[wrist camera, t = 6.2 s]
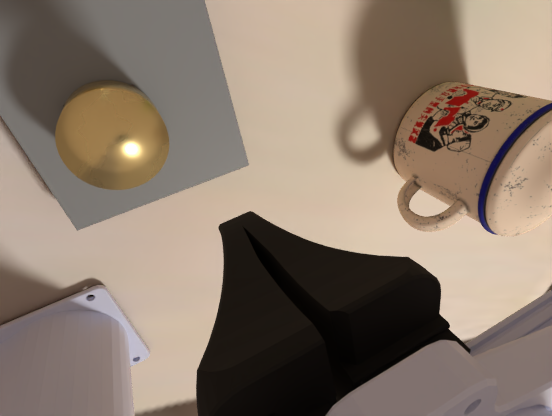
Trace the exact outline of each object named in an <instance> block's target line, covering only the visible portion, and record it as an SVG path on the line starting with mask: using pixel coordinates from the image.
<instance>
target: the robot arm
mask: <svg viewBox="0 0 552 416" xmlns="http://www.w3.org/2000/svg"><path fill="white" fill-rule="evenodd" d="M219 231H220V233H221V236H222V242H223V253H224V271H223V285H222V292H221V299H220V304H219V308H218V313H217V317H216V321H215V324H214V327H213V330H212V334H211V337H210V340H209V343H208V345H207V348H206V350H205V353H204V355H203V358H202V360H201V362H200V365H199V367H198V369H197V384H196V396H197V409H198V416H552V290H550V291H549V292H547V293H545V294H544V295H542V296H541V297H539V298H537V299H536V300H534V301H533V302H531V303H529V304H528V305H526V306H525V307H523V308H521V309H520V310H518V311H517V312H515V313H514V314H512V315H510V316H509V317H507V318H506V319H504V320H502V321H501V322H499V323H498V324H496V325H494V326H493V327H491V328H490V329H488V330H487V331H485V332H483V333H482V334H480V335H479V336H477V337H475V338H474V339H472V340H471V341H469V342H468V343H466V344H464V343H463V342H462V341H461V340H460V339H459V338H458V337H457V336H455V335H454V334H453V333H452V332H451V331H450V330H449V329H448V328H449V327H450V325H449V323H448V322H447V321H446V320H445V319H444V318H443V317H442V316H441V315H440V314H439V310H440V299H441V287H440V283H439V281H438V279H437V278H436V277H435V276H433V275H432V274H431V273H430V272H428V271H427V270H426V269H425V268H423V267H422V266H421V265H419V264H418V263H416V262H415V261H413V260H412V259H410V258H409V257H395V256H377V255H369V254H361V253H355V252H349V251H344V250H340V249H335V248H331V247H327V246H324V245H321V244H317V243H314V242H311V241H309V240H306V239H303V238H301V237H299V236H296V235H294V234H292V233H290V232H288V231H286V230H284V229H282V228H280V227H278V226H276V225H274V224H272V223H270V222H268V221H267V220H265V219H263V218H262V217H260V216H258V215H257V214H255V213H254V212H251V211H249V212H247V213H245V214H242V215H240V216H238V217H236V218H233V219H231V220H229V221H227V222H224V223H222V224H220V226H219ZM88 295H94V296H93V297H88ZM149 356H150V351H149V349H148V347H147V346H146V344H145V343H144V341H143V340H142V339H141V337H140V336H139V334H138V333H137V331H136V330H135V328H134V327H133V326H132V324H131V323H130V321H129V320H128V318H127V317H126V315H125V314H124V313H123V311H122V310H121V308H120V307H119V305H118V304H117V302H116V301H115V299H114V298H113V297H112V295H111V294H110V292H109V291H108V289H107V288H106V287H105V286H103V285H96V286H93V287H91V288H88V289H86V290H84V291H81V292H79V293H76V294H74V295H72V296H69V297H67V298H65V299H62V300H60V301H58V302H55V303H53V304H50V305H48V306H46V307H43V308H41V309H39V310H36V311H34V312H31V313H29V314H27V315H24V316H22V317H20V318H17V319H15V320H12V321H10V322H8V323H5V324H3V325H1V326H0V416H134V403H133V391H132V378H131V366H133V365H135V364H137V363H139V362H141V361H143V360H145V359H147V358H148V357H149ZM135 357H136V358H135Z"/></svg>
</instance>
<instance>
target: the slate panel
mask: <svg viewBox="0 0 552 416" xmlns="http://www.w3.org/2000/svg"><path fill="white" fill-rule="evenodd" d="M99 80H115V81H120V82H123V83H127V84H129V85H132V84H133V85H134V87H135V88H137V89H139V90H140V91H141V92H143V93H144V94H145V95H146V96H147V97H148V98H149V99H150V100H151V101H152V102H153V104H154V105H155V107H156V108H157V110H158V112H159V114H160V116H161V117H162V119H163V121H164V123H165V125H166V128H167V131H168V135H169V152H168V156H167V159H166V161H165V164H164V165H163V167H162V169H161V170H160V171H159V172H158V173H157V174H156V175H155V176H154V177H153V178H152V179H151V180H149V181H148V182H146V183H144V184H142V185H140V186H138V187H134V188H131V189H125V190H108V189H102V188H98V187H95V186H93V185H90V184H88V183H86V182H84V181H82V180H81V179H79V178H78V177H77V176H75V175H74V174H73V173H72V172H71V171H70V170H69V169H68V168H67V167H66V165H65V164H64V163H63V161H62V159H61V157H60V155H59V153H58V150H57V147H56V142H55V131H56V125H57V122H58V119H59V117H60V114H61V112H62V109H63V107H64V105H65V103H66V101H67V99H68V98H69V97H70V95H71V94H72V93H73V92H74V91H76V90H77V89H78V88H80V87H81V86H83V85H85V84H88V83H90V82H94V81H99ZM0 116H1V117H2V119H3V120H4V122H5V123H6V125H7V126H8V128H9V129H10V131H11V132H12V134H13V135H14V137H15V138H16V140H17V141H18V143H19V144H20V146H21V147H22V149H23V150H24V152H25V153H26V155H27V156H28V158H29V159H30V161H31V162H32V164H33V165H34V167H35V168H36V170H37V171H38V173H39V174H40V176H41V177H42V179H43V180H44V182H45V183H46V185H47V186H48V188H49V189H50V190H51V192H52V193H53V195H54V196H55V198H56V199H57V201H58V202H59V204H60V205H61V207H62V208H63V210H64V211H65V213H66V214H67V216H68V217H69V219H70V220H71V222H72V223H73V225H74V226H75V228H76V229H77V230H80V229H82V228H85V227H88V226H90V225H93V224H96V223H98V222H101V221H104V220H106V219H109V218H111V217H114V216H117V215H119V214H122V213H125V212H127V211H130V210H132V209H135V208H138V207H140V206H143V205H146V204H148V203H151V202H153V201H156V200H159V199H161V198H164V197H167V196H169V195H172V194H175V193H177V192H180V191H182V190H185V189H188V188H190V187H193V186H196V185H198V184H201V183H203V182H206V181H209V180H211V179H214V178H217V177H219V176H222V175H224V174H227V173H230V172H232V171H235V170H238V169H240V168H243V167H246V166H248V165H249V163H248V160H247V156H246V152H245V148H244V145H243V141H242V137H241V134H240V130H239V126H238V123H237V119H236V115H235V111H234V108H233V104H232V100H231V97H230V93H229V89H228V86H227V82H226V78H225V74H224V71H223V67H222V63H221V60H220V56H219V52H218V49H217V45H216V41H215V37H214V34H213V30H212V26H211V23H210V19H209V15H208V11H207V8H206V4H205V0H0Z"/></svg>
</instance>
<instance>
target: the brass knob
mask: <svg viewBox="0 0 552 416" xmlns="http://www.w3.org/2000/svg"><path fill="white" fill-rule="evenodd" d="M55 142H56V147H57V150H58V153H59V155H60V157H61V159H62V161H63V163H64V164H65V165H66V167H67V168H68V169H69V170H70V171H71V172H72V173H73V174H74V175H75V176H77V177H78V178H79V179H81V180H82V181H84V182H86V183H88V184H90V185H93V186H95V187H98V188H102V189H108V190H125V189H131V188H134V187H138V186H140V185H142V184H144V183H146V182H148V181H149V180H151V179H152V178H153V177H154V176H155V175H156V174H157V173H158V172H159V171H160V170H161V169H162V167H163V165H164V164H165V161H166V159H167V156H168V152H169V135H168V131H167V128H166V125H165V123H164V121H163V119H162V117H161V116H160V114H159V112H158V110H157V108H156V107H155V105H154V104H153V102H152V101H151V100H150V99H149V98H148V97H147V96H146V95H145V94H144V93H143V92H141V91H140V90H139V89H137V88H135V87H133V86H131V85H129V84H127V83H123V82H120V81H115V80H99V81H94V82H90V83H88V84H85V85H83V86H81V87H80V88H78V89H77V90H76V91H74V92H73V93H72V94H71V95H70V97H69V98H68V99H67V101H66V103H65V105H64V107H63V109H62V112H61V114H60V117H59V119H58V122H57V125H56V131H55Z"/></svg>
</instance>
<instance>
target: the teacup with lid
mask: <svg viewBox="0 0 552 416" xmlns="http://www.w3.org/2000/svg"><path fill="white" fill-rule="evenodd" d="M394 162H395V166H396V169H397V171H398V173H399V175H400V176H401V177H402V178H403V179H404V180H405V181H406V183H405V184H404V185H403V187H402V188H401V190H400V191H399V194H398V198H397V203H398V208H399V211H400V213H401V215H402V217H403V218H404V220H405V221H406V222H407V223H408V224H409V225H410V226H412V227H413V228H415V229H417V230H420V231H424V232H435V231H440V230H444V229H446V228H448V227H450V226H452V225H454V224H455V223H456V222H458V221H459V220H460V219H461V218H462V217H463V216H464V215H467V216H469V217H471V218H473V219H474V220H476V221H478V222H480V223H481V225H482V226H483V227H484V229H486V230H487V231H488V232H490V233H492V234H496V235H501V236H517V235H521V234H524V233H526V232H529V231H531V230H533V229H534V228H536V227H538V226H539V225H541V224H542V223H543V222H545V221H546V220H547V219H548V218H549V217H551V216H552V101H550V100H545V99H540V98H535V97H530V96H525V95H520V94H515V93H510V92H505V91H500V90H495V89H490V88H485V87H479V86H474V85H469V84H464V83H459V82H446V83H443V84H439V85H437V86H435V87H433V88H431V89H430V90H428V91H427V92H425V93H424V94H423V95H422V96H420V97H419V98H418V99H417V100H416V101H415V102H414V104H413V105H412V106H411V107H410V109H409V110H408V111H407V113H406V115H405V116H404V118H403V120H402V122H401V124H400V126H399V129H398V131H397V134H396V138H395V143H394ZM419 189H421V190H422V191H424V192H426V193H428V194H430V195H431V196H433V197H435V198H437V199H439V200H440V201H442V202H444V203H446V204H447V205H449V206H450V207H449V208H448V209H447V210H445V211H444V212H442V213H440V214H438V215H435V216H429V217H423V216H419V215H417V214H415V213H414V212H412V211H411V210H410V209H409V202H410V200H411V198H412V196H413V195H414V194H415V193H416V192H417V191H418V190H419Z"/></svg>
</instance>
